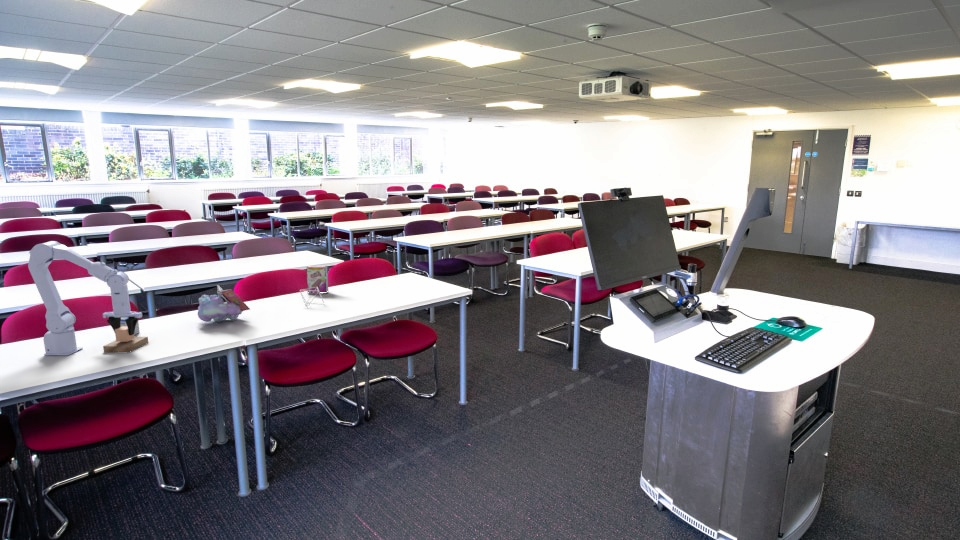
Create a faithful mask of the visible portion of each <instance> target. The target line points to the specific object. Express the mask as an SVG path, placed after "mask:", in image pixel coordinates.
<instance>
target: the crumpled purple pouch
mask: <svg viewBox="0 0 960 540" xmlns="http://www.w3.org/2000/svg"><path fill="white" fill-rule="evenodd" d="M216 287H217V291H216V293H217V294H210V295H208V294H202V295H201V296H200V297H199V298H198V304H199V306H198V307H197V310H198V311H197V316H198V319H200V320H201V321H202V322H208V323H209V322H211V321H212V320H213V321H215V322H217V323H220V322H223V321H225V320H227V319H229V320H231V321H235V320H237V319H238V318H239V316H240V315H242V313H243V312H245V311H248V310H249V311H250V310H251V309H250V307H249V306H248V305H247V304H246V303H245V302H244V301H243V300H242V299H241V298H240V296H238V294H236V292H235V291H234V290H233V289H223V288H222V287H221V286H220V285H219V284H216Z"/></svg>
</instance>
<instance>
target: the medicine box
mask: <svg viewBox="0 0 960 540" xmlns="http://www.w3.org/2000/svg"><path fill="white" fill-rule="evenodd" d="M126 319H128V318H121V322H120V327H122V326H127V324H126V322H125V320H126ZM139 325H140V324H139V320H138V321H137V324H136V327H135V332H134V335H137V333H138V334H139V333H140V326H139Z"/></svg>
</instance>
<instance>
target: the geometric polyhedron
mask: <svg viewBox="0 0 960 540" xmlns="http://www.w3.org/2000/svg"><path fill="white" fill-rule="evenodd" d="M313 288H315V287H313ZM308 289H310V288H308V287H307V288H306V289H305V288H303V289H301V290H299V292H300V295H301V297H302V300H303V303H304V305H305V307H307V308H308V307H310V304H312V303H313V300H314V299H315V297H316V296H317V295H319V297H320V298H321V300H322V304H324V303H325V301H324V299H323V296H322V294H320V291H318V292H319V294H317V293H318V292H317V293H316V294H314V296H313V294H310V297H309V298H308V300H306V299H305V296H304V295H303V292H302V291H304V292H305V291H306V292H308V291H311V290H308ZM317 289H318V287H317ZM315 290H316V289H315ZM318 290H319V289H318ZM313 293H314V292H313ZM312 296H313V298H312V299H311V297H312ZM310 299H311V301H310V302H309V300H310ZM306 303H308V304H307V306H306Z"/></svg>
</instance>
